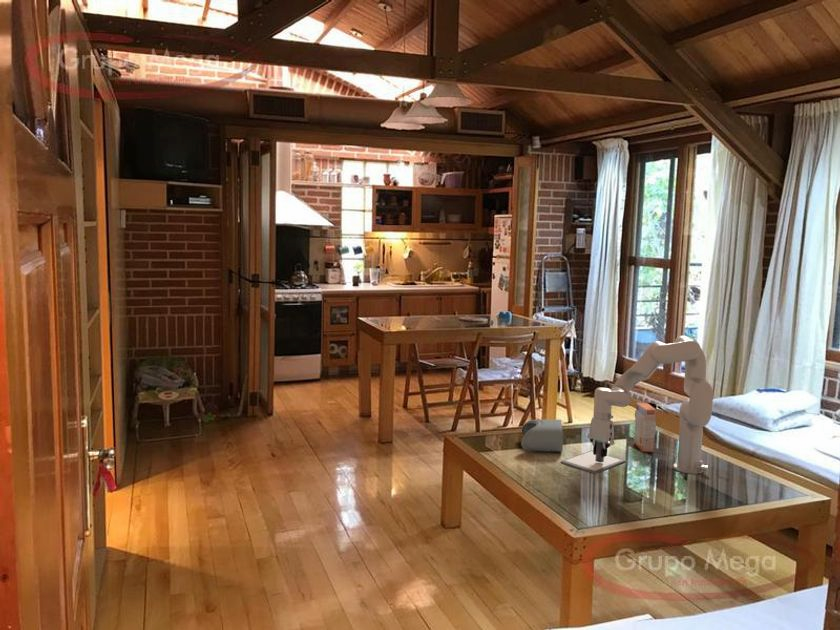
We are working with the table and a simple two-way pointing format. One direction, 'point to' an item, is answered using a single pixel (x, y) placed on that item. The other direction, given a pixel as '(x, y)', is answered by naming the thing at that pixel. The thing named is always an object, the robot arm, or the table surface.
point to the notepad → (592, 462)
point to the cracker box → (645, 427)
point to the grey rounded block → (542, 435)
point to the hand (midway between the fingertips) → (599, 455)
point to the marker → (599, 451)
